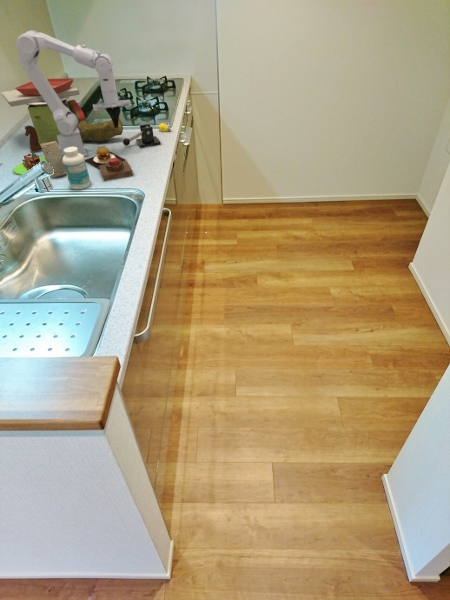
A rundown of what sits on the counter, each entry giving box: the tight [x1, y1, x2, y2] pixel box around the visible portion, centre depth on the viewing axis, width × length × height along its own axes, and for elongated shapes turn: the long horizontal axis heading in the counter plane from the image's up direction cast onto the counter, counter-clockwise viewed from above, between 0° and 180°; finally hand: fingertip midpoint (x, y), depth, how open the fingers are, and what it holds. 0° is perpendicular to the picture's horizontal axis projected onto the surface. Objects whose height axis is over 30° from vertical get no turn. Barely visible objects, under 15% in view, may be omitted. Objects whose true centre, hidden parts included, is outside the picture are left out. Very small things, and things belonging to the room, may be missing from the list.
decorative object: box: [67, 99, 86, 124], centre depth 184 cm, size 14×4×15 cm
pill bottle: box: [62, 147, 92, 190], centre depth 142 cm, size 8×7×14 cm
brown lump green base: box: [13, 152, 46, 176], centre depth 157 cm, size 15×15×6 cm
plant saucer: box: [14, 77, 75, 95], centre depth 169 cm, size 18×18×3 cm
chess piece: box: [24, 125, 42, 153], centre depth 170 cm, size 5×5×10 cm
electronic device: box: [0, 84, 81, 107], centre depth 173 cm, size 29×20×2 cm
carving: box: [40, 141, 66, 177], centre depth 150 cm, size 6×8×12 cm
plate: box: [25, 97, 70, 106], centre depth 173 cm, size 21×21×2 cm
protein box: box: [27, 99, 69, 145], centre depth 177 cm, size 10×15×16 cm
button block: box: [98, 160, 134, 182], centre depth 152 cm, size 11×10×4 cm
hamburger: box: [84, 146, 126, 171], centre depth 161 cm, size 12×12×6 cm
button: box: [109, 158, 119, 166], centre depth 151 cm, size 4×4×2 cm
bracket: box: [135, 123, 162, 149], centre depth 174 cm, size 9×8×7 cm
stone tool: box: [77, 117, 124, 142], centre depth 177 cm, size 20×9×10 cm
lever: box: [122, 126, 148, 147], centre depth 172 cm, size 13×3×3 cm, turn 113°
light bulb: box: [158, 122, 172, 132], centre depth 186 cm, size 3×6×4 cm
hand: (116, 127), depth 162 cm, fingers closed
